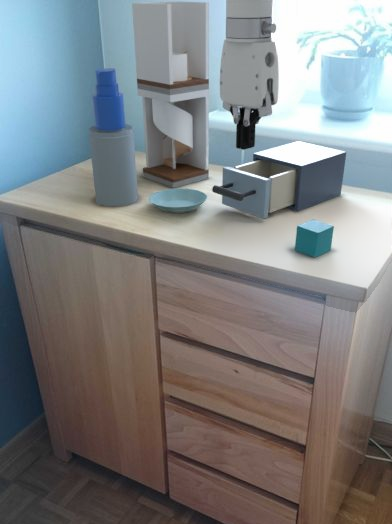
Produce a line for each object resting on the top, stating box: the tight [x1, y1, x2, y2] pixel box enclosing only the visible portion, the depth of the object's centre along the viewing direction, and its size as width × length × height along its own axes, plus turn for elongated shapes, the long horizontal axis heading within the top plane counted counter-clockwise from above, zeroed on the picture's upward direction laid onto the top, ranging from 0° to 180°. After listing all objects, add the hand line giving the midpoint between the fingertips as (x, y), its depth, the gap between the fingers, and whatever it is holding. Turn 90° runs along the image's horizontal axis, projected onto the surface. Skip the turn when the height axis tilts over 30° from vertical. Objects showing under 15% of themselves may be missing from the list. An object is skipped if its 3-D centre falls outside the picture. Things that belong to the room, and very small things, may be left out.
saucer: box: [148, 187, 208, 214], centre depth 114 cm, size 12×12×2 cm
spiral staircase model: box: [131, 0, 210, 189], centre depth 122 cm, size 11×11×35 cm
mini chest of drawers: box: [252, 140, 347, 213], centre depth 117 cm, size 15×13×9 cm
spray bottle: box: [88, 67, 139, 208], centre depth 112 cm, size 9×9×25 cm
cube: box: [294, 219, 335, 258], centre depth 95 cm, size 4×4×4 cm
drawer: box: [211, 159, 298, 219], centre depth 110 cm, size 18×11×7 cm, turn 132°
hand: (245, 147), depth 100 cm, fingers closed
